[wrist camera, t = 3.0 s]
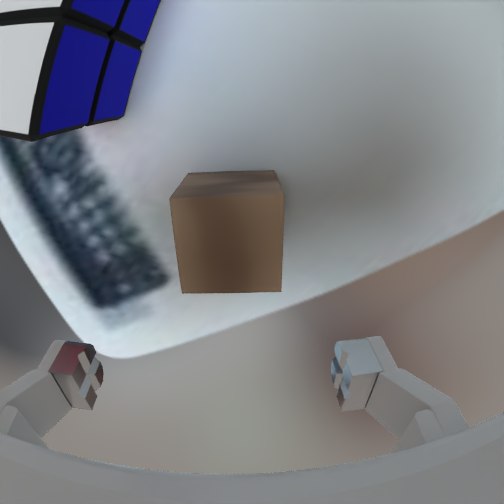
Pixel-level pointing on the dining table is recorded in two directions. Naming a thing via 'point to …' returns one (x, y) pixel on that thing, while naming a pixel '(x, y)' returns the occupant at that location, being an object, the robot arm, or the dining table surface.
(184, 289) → the walnut block
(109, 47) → the puzzle cube
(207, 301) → the dining table surface
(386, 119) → the dining table surface
